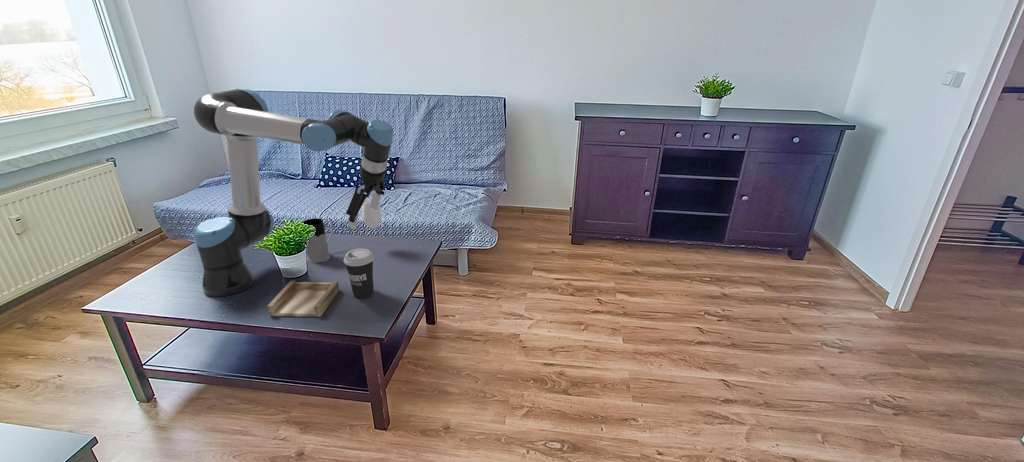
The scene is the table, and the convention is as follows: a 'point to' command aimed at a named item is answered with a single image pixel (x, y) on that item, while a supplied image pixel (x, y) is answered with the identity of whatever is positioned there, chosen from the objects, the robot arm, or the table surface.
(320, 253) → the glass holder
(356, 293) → the coffee cup
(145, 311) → the table surface
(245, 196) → the robot arm
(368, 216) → the cup
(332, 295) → the tray
